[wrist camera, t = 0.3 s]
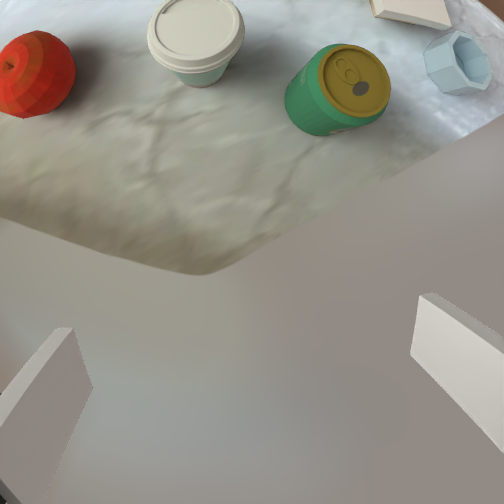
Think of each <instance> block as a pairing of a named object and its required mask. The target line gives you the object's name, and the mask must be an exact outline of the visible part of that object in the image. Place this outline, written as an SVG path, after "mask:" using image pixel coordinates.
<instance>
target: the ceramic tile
mask: <svg viewBox="0 0 504 504" xmlns="http://www.w3.org/2000/svg"><path fill="white" fill-rule="evenodd" d="M373 3H374V7H375V10H376V14H377V16H381V17H386V18H392V19H397V20H402V21H406V22H411V23H415V24H420V25H424V26H428V27H431V28H435V29H439V30H442V31H444V30H446V29H448V28H450V27H452V26H451V22H450V19H449V16H448V12H447V9H446V6H445V3H444V0H373Z"/></svg>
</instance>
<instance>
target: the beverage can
mask: <svg viewBox="0 0 504 504" xmlns="http://www.w3.org/2000/svg"><path fill="white" fill-rule="evenodd" d="M390 91H391V85H390V79H389V76H388V73H387V71H386V69H385V67H384V65H383V64H382V63H381V61H380V60H379V59H378V58H377V57H376V56H375V55H374V54H372V53H371V52H369V51H368V50H366V49H364V48H362V47H359V46H355V45H348V44H333V45H330V46H327V47H325V48H323V49H321V50H320V51H319V52H317V54H316V55H315V56H314V57H313V58H312V59H311V60H310V61H309V62H308V63H307V65H306V66H305V67H304V68H303V69H302V70H301V71H300V72H299V73H298V75H297V76H296V77H295V78H294V79H293V80H292V81H291V83H290V84H289V86H288V87H287V90H286V93H285V107H286V111H287V113H288V115H289V117H290V119H291V120H292V122H293V123H294V124H295V125H296V126H297V127H298V128H300V129H301V130H303V131H304V132H306V133H309V134H312V135H316V136H326V135H330V134H334V133H337V132H341V131H344V130H348V129H351V128H355V127H358V126H362V125H366V124H369V123H371V122H373V121H375V120H376V119H377V118H379V117H380V116H381V115H382V113H383V112H384V110H385V108H386V106H387V103H388V100H389V97H390Z"/></svg>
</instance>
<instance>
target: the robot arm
mask: <svg viewBox="0 0 504 504" xmlns="http://www.w3.org/2000/svg"><path fill="white" fill-rule="evenodd" d="M410 355H411V356H412V357H413V358H414V359H415V360H416V361H417V362H418V363H419V364H420V365H421V366H422V367H423V368H424V369H425V370H426V371H427V372H428V373H429V374H430V375H431V376H432V377H433V379H434V380H435V381H436V382H437V383H438V384H439V385H440V386H441V387H442V388H443V389H444V390H445V391H446V392H447V393H448V394H449V395H450V396H451V397H452V398H453V399H454V400H455V401H456V402H457V404H459V406H460V407H461V408H462V409H463V410H464V411H465V412H466V413H467V414H468V415H469V416H470V417H471V418H472V419H473V421H474V422H476V424H477V425H478V426H479V427H480V428H481V429H482V430H483V431H484V432H485V434H487V436H488V437H489V438H490V439H491V440H492V441H493V442H494V443H495V444H496V446H497V447H498V448H499V449H500V450H501V451H502V452H503V454H504V338H503V337H502V336H500V335H499V334H497V333H496V332H495V331H493V330H492V329H490V328H489V327H487V326H486V325H484V324H483V323H481V322H479V321H478V320H476V319H475V318H473V317H472V316H470V315H469V314H467V313H466V312H464V311H463V310H461V309H459V308H458V307H456V306H455V305H453V304H452V303H450V302H448V301H447V300H445V299H444V298H442V297H440V296H439V295H437V294H435V293H428V294H423V295H419V303H418V310H417V317H416V323H415V329H414V336H413V341H412V347H411V352H410ZM92 389H93V387H92V384H91V382H90V378H89V376H88V373H87V370H86V367H85V364H84V361H83V358H82V355H81V352H80V348H79V345H78V342H77V338H76V335H75V332H74V328H56V329H55V331H53V333H52V334H51V335H50V336H49V337H48V338H47V339H46V341H45V342H44V343H43V344H42V345H41V346H40V348H39V349H38V350H37V351H36V352H35V353H34V355H33V356H32V357H31V358H30V359H29V361H28V362H27V363H26V364H25V365H24V367H23V368H22V369H21V370H20V372H19V373H18V374H17V375H16V377H15V378H14V379H13V380H12V381H11V383H10V384H9V385H8V387H7V388H6V389H5V390H4V392H3V393H1V394H0V504H5V503H6V502H7V503H8V504H44V501H45V499H46V496H47V493H48V491H49V488H50V485H51V483H52V480H53V478H54V475H55V473H56V470H57V468H58V466H59V463H60V461H61V458H62V456H63V453H64V451H65V449H66V446H67V444H68V442H69V440H70V437H71V435H72V433H73V430H74V428H75V426H76V424H77V421H78V419H79V417H80V415H81V413H82V410H83V408H84V406H85V404H86V402H87V400H88V398H89V396H90V393H91V391H92Z"/></svg>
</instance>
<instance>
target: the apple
mask: <svg viewBox="0 0 504 504" xmlns="http://www.w3.org/2000/svg"><path fill="white" fill-rule="evenodd" d="M75 76H76V66H75V63H74V60H73V57H72V55H71V53H70V51H69V48H68V47H67V46H66V45H65V44H64V43H63V42H62V41H61V40H60V39H58V38H57V37H55V36H53V35H51V34H50V33H47V32H43V31H38V30H36V31H33V32H30V33H26V34H23V35H21V36H19V37H17V38H15V39H14V40H12V41H11V42H10V43H9V44H8V45H7V46H5V47H4V49H3V50H2V52H1V53H0V111H1V112H4V113H7V114H9V115H12V116H16V117H19V118H23V119H24V118H28V117H33V116H37V115H42V114H46V113H49V112H51V111H52V110H53V109H55V108H56V107H58V106H59V105H60V104H61V103H62V101H63V100H64V99H65V98H66V97H67V96H68V94H69V92H70V90H71V88H72V86H73V84H74V82H75Z"/></svg>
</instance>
